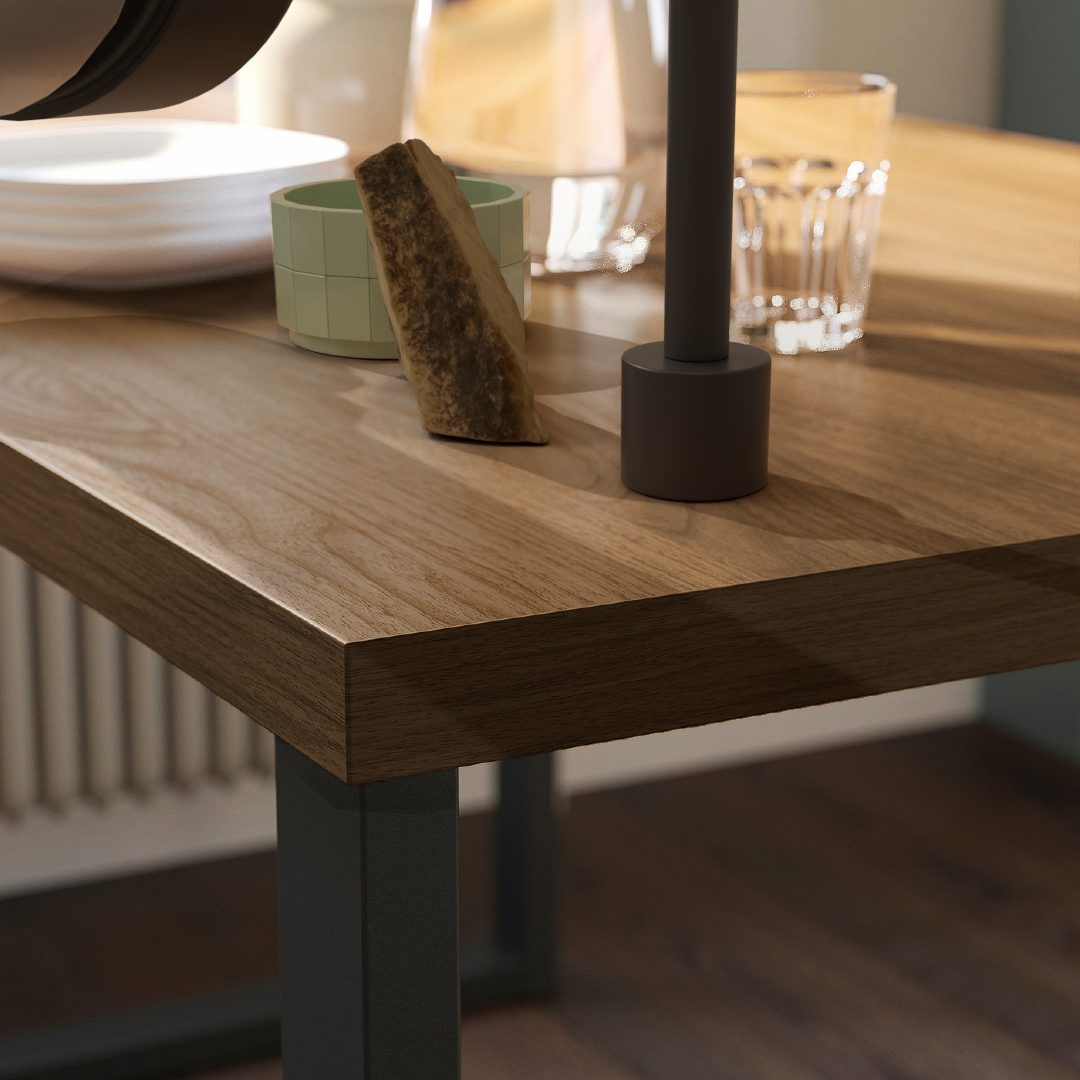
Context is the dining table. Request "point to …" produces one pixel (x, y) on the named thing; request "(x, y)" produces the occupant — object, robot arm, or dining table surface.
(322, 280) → the bowl
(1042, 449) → the dining table surface
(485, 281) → the rock
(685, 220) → the dark weighted post stand
